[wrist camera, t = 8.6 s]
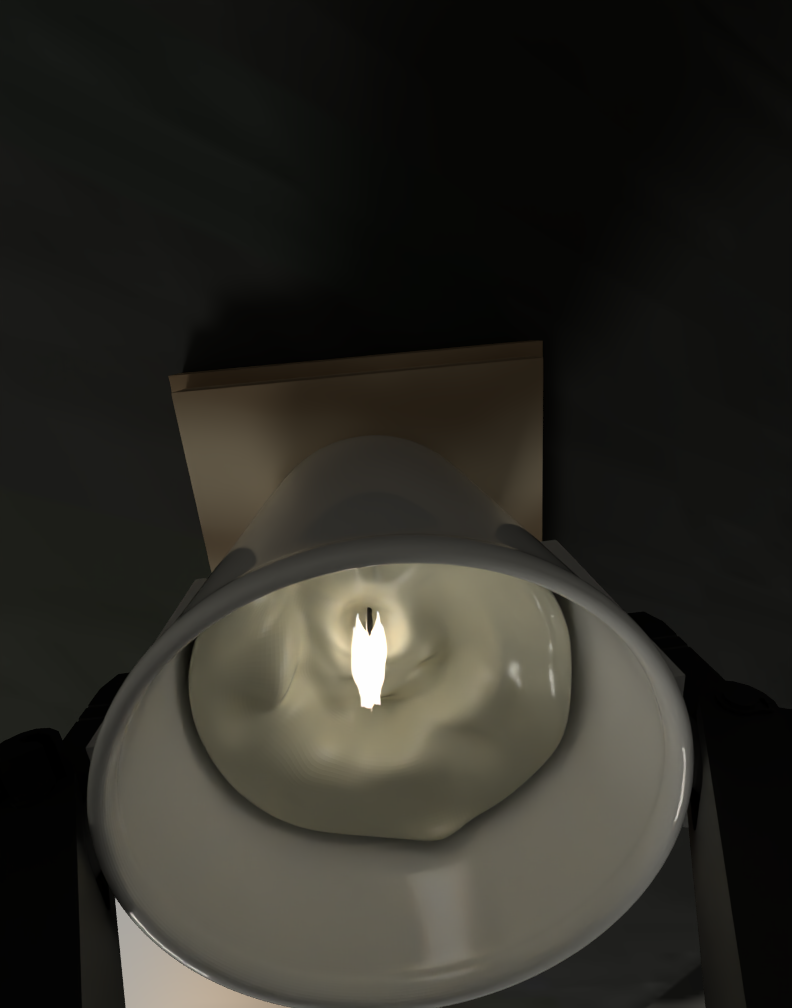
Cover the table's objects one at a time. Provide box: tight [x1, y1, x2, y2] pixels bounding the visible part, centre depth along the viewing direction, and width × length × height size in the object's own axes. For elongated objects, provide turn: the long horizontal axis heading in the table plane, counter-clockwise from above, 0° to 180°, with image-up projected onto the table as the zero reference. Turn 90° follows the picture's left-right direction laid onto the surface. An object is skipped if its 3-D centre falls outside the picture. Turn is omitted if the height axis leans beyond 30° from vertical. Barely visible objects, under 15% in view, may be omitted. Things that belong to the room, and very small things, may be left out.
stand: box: [169, 340, 543, 572], centre depth 21 cm, size 14×14×3 cm
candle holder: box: [87, 435, 694, 1008], centre depth 14 cm, size 10×10×12 cm
